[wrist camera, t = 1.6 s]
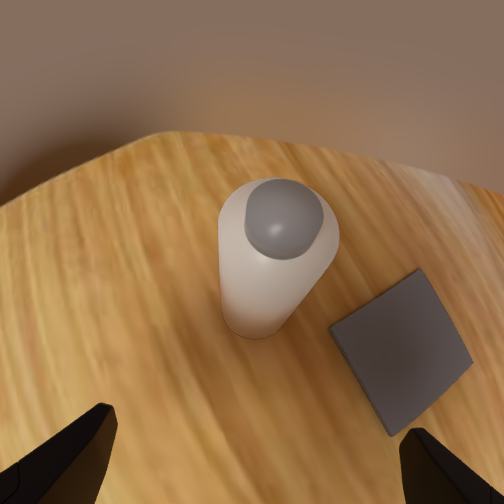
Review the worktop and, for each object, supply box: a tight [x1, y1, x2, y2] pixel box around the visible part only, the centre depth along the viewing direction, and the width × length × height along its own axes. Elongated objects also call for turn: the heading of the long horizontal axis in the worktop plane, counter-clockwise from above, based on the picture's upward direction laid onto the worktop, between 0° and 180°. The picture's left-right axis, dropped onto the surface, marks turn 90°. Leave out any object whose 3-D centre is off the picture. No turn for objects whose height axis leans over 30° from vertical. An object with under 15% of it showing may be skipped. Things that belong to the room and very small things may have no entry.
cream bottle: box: [218, 177, 340, 339], centre depth 17 cm, size 5×5×13 cm
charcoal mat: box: [328, 268, 473, 437], centre depth 22 cm, size 10×10×1 cm
